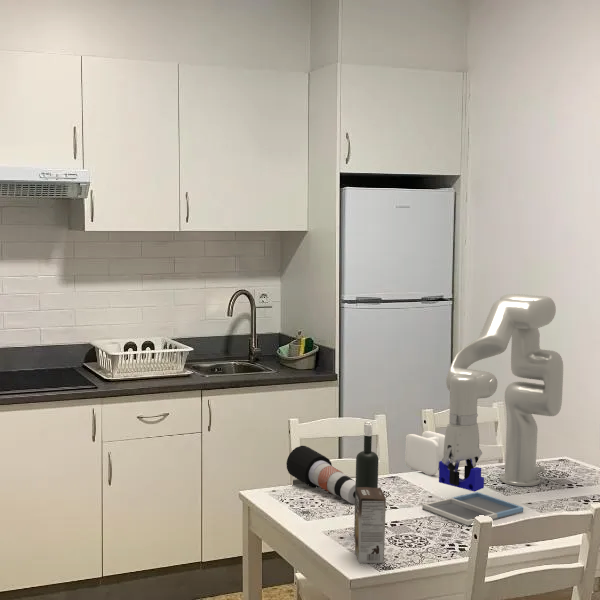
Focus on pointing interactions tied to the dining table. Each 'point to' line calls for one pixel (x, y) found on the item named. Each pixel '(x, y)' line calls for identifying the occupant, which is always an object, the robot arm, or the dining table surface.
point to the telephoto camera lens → (320, 473)
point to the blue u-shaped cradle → (471, 482)
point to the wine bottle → (366, 464)
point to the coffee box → (370, 525)
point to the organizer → (424, 452)
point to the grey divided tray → (472, 508)
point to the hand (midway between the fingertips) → (461, 481)
